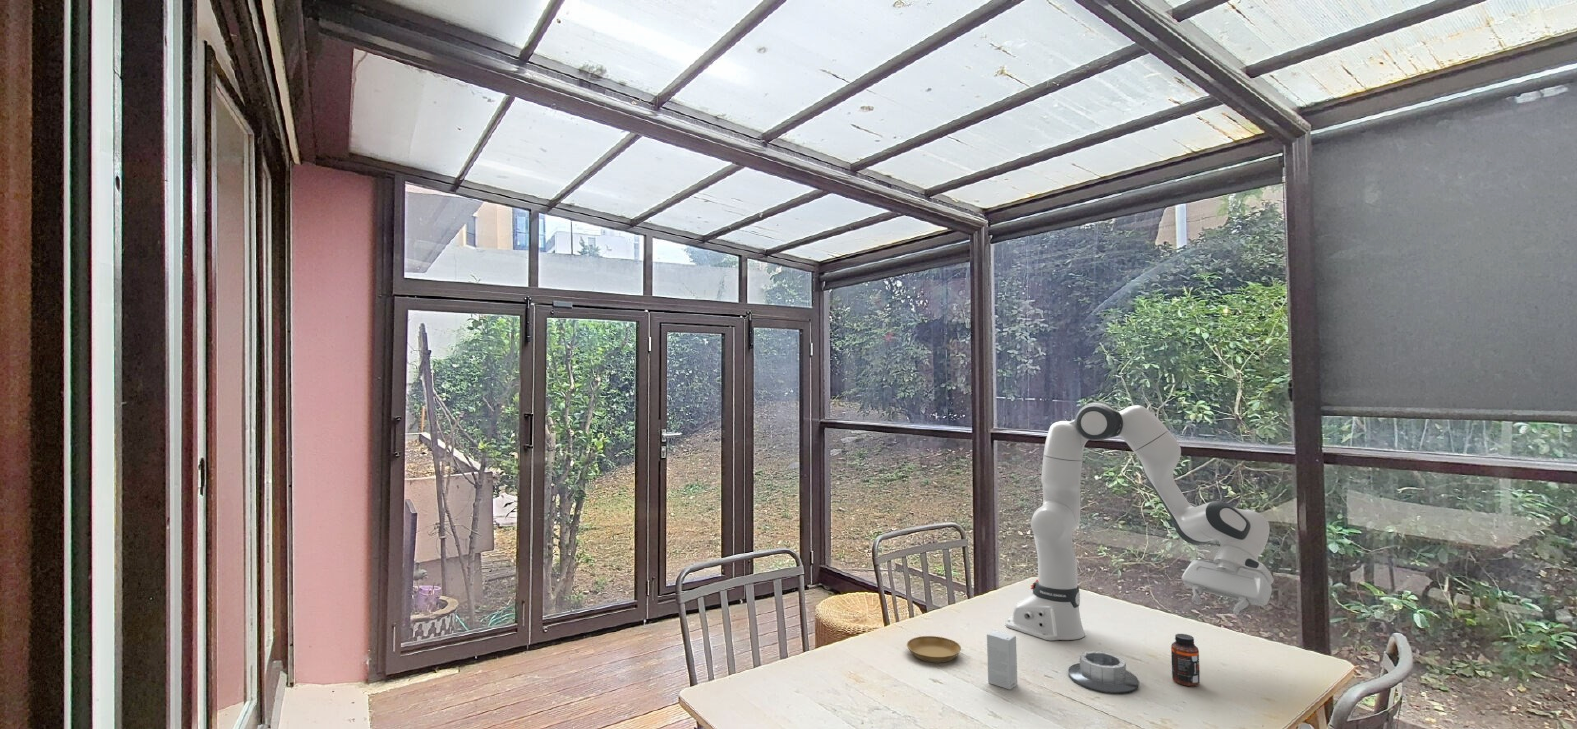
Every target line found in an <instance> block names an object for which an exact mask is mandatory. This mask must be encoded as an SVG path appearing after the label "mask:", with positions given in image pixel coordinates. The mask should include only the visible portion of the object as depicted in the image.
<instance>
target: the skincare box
mask: <svg viewBox="0 0 1577 729" xmlns="http://www.w3.org/2000/svg"><path fill="white" fill-rule="evenodd" d="M986 647H987V649H986V650H987V652H986V653H987V654H986V655H987V683H988V684H990V685H991V684H992V685H994V686H998V687H1000V688H1004V689H1007V690H1012V689H1014V688H1015V687H1016V686H1017V685H1018V658H1017V656H1018V655H1017V636H1016V635H1014V634H1010V633H1006V632H1001V631H997V630H993V631H991V632H990V633H987V634H986Z"/></svg>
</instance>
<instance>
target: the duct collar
mask: <svg viewBox="0 0 1577 729" xmlns="http://www.w3.org/2000/svg"><path fill="white" fill-rule="evenodd" d="M1067 672H1068V677H1069V678H1070V680H1071V681H1072V682H1073V683H1075V684H1077V685H1078V686H1081V687H1082V688H1084V689H1088V690H1090V691H1094V692H1097V693H1102V694H1111V695H1125V694H1131V693H1134V692H1136V691H1138V689H1139V688H1140V681H1139V679H1138V677H1137V676H1136V675H1135V674H1133V673H1132V672H1131V671H1129V670H1127V663H1126V660H1124V659H1123V657H1120V656H1119V655H1116V654H1113V653H1110V652H1105V651H1097V650H1096V651H1094V650H1089V651H1084V652H1082V653H1080V654H1079V662H1077V663H1074V664H1072V665H1070V666H1069V667H1068V671H1067Z"/></svg>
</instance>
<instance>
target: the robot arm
mask: <svg viewBox="0 0 1577 729" xmlns="http://www.w3.org/2000/svg"><path fill="white" fill-rule="evenodd" d="M1114 437H1115V438H1116V437H1118V438H1121V439H1122V440H1123V441H1124V442H1125V443H1126V444H1127V445H1128V447H1129V448H1130V450H1132V451H1133V453H1134V454H1135V455H1136V457H1137V459H1138V460H1139V462H1140V463H1141V465H1142V467H1143V472H1144V475H1145V478H1146V480H1147V481H1148V484H1149V485H1150V486H1151V489H1152V490H1153V491H1154V493H1155V494H1156V497H1158V499H1159V500H1160V502H1161V504H1162V505H1163V506H1164V508H1165V510H1166V511H1167V513H1168V515H1169V517H1170V518H1171V522H1172V523H1173V526H1174V530H1175V531H1176V533H1177V534H1178V536H1179V537H1180V538H1181V539H1182V540H1183V541H1184V542H1186V543H1188V544H1190V545H1194V546H1202V545H1205V544H1206V543H1207V544H1208V543H1209V542H1212V541H1218V542H1219V543H1220V544H1219V545H1220V546H1219V548H1218V550H1217V552H1216V554H1215V556H1214V558H1213V559H1210V558H1209V559H1208V558H1204V557H1198V558H1194V559H1192V560H1191V561H1190V564H1189V565H1188V566H1187V567H1186V569H1185V570H1184V572H1183V573H1182V576H1181V580H1182V581H1183V583H1184V585H1185V587H1187V588H1188V589H1191V590H1192V594H1193V595H1192V597H1191V603H1193V604H1195V605H1199V606H1200V605H1201V603H1202V601H1203V599H1202V598H1201V597H1200V595H1201V593H1202V592H1204V593H1209V594H1212V595H1216V596H1220V597H1222V598H1223V597H1224V598H1228V599H1231V600H1235V601H1238V602H1237V603H1236V604H1230V607H1229V608H1228V611H1229V612H1230V614H1231V615H1235V616H1239V613H1240V611H1242V610H1244V609H1246V608H1248V607H1249V605H1255V606H1259V607H1264V606H1266V605H1267V604H1268V603H1269V600H1270V598H1271V595H1272V592H1273V587H1272V585H1273V583H1274V577H1273V575H1272V573H1271V571H1270V570H1269V569H1268V568H1267V567H1266V565H1265V564H1263V563H1262V562H1261V561H1259V557H1260V555H1261V554H1263V552H1264V550H1265V547H1266V545H1267V542H1268V540H1269V536H1270V533H1271V532H1270V530H1271V529H1270V524H1269V521H1268V520H1267V519H1266V517H1264V516H1263V515H1262V514H1261V513H1259V512H1257V511H1256V510H1252V509H1248V508H1247V509H1241V508H1238V507H1235V506H1233V505H1232V504H1230V503H1228V502H1226V501H1222V500H1214V501H1209V502H1206V503H1202V504H1201V505H1198V506H1194V505H1192V504H1190V502H1189V501H1188V500H1187V498H1186V497H1185V495H1184V493H1183V492H1182V491H1181V489H1180V488H1179V486H1178V484H1177V483H1176V481H1175V479H1174V471H1175V469H1176V467H1177V466H1178V464H1179V462H1180V459H1181V455H1182V447H1181V446H1180V443H1179V442H1178V440H1177V439H1176V437H1175V436H1174V435H1173V434H1172V433H1171V432H1170V430H1169V428H1167V426H1166V425H1165V424H1164V423H1163V422H1162V421H1161V420H1160V419H1159V418H1158V417H1157V416H1156V415H1155V414H1153V413H1152V412H1151V411H1150V410H1149V409H1147V408H1146V407H1145V406H1143V405H1140V404H1136V405H1129V406H1127V407H1125V408H1123V409H1121V410H1115V409H1114V408H1113V407H1112V406H1111V405H1109V404H1108V403H1105V402H1101V401H1093V402H1088V403H1086V404H1085V405H1083V406H1082V407H1081V408H1080V409H1079V410H1078V411H1077V413H1076V415H1075V417H1074V419H1072V420H1060V421H1055V422H1054V423H1052V424H1051V425H1050V427H1049V428H1048V431H1047V435H1046V439H1045V443H1044V449H1043V457H1042V458H1043V459H1042V467H1041V477H1040V482H1041V488H1042V498H1043V499H1042V505H1041V506H1039V507H1038V508H1037V509H1036V510H1035V511H1034V512H1033V515H1032V516H1031V520H1030V527H1031V531H1032V533H1033V538H1034V544H1035V549H1036V556H1037V572H1038V574H1037V577H1038V578H1037V579H1036V580H1035V581H1034V582H1033V583H1031V585H1030V590H1032V592H1031V593H1030V594H1028V595H1027V596H1026V597H1023V598H1021V600H1019V601H1017V603H1016V604H1015V606H1014V608H1013V613H1012V615H1010V616H1009V617H1008V618H1006V620H1005V627H1007V628H1009V629H1012V630H1015V631H1019V632H1021V633H1025V634H1027V635H1030V636H1033V637H1037V638H1040V639H1043V640H1045V641H1059V640H1062V641H1063V640H1065V641H1069V640H1071V641H1072V640H1073V641H1074V640H1079V639H1082V638H1083V637H1085V630H1084V627H1083V623H1082V620H1081V619H1082V618H1081V612H1080V605H1081V604H1080V603H1081V593H1080V586H1079V585H1078V559H1077V557H1076V553H1075V549H1074V548H1075V547H1074V542H1073V533H1074V532H1075V531H1076V530H1078V527H1079V526H1080V524H1081V481H1082V480H1081V478H1082V468H1083V459H1084V450H1085V445H1086V443H1087V442H1088V441H1093V442H1094V441H1096V442H1099V441H1103V440H1107V439H1110V438H1114Z"/></svg>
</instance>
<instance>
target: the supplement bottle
mask: <svg viewBox="0 0 1577 729" xmlns="http://www.w3.org/2000/svg"><path fill="white" fill-rule="evenodd" d="M1174 636H1175V637H1174V640H1175V641H1174V642H1172V643H1171V646H1170V649H1171V650H1170V653H1171V654H1170V655H1171V656H1170V657H1171V678H1172V680H1173V681H1174V682H1175V683H1176V684H1179V685H1182V686H1186V687H1197V686H1199V685H1200V681H1201V677H1200V674H1201V672H1200V652H1199V648H1198V647H1197V646H1196V644H1195V638H1194V637H1193V636H1192V635H1189V634H1186V633H1176V634H1175V635H1174Z"/></svg>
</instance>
